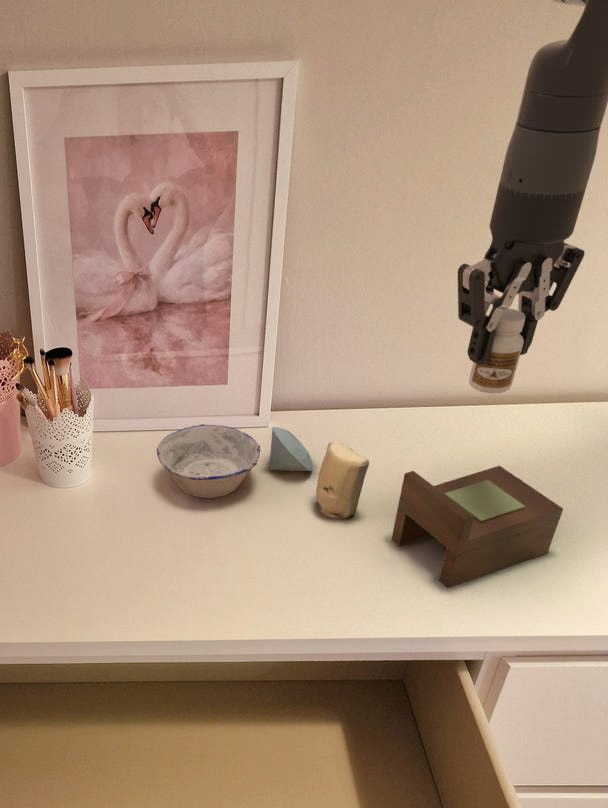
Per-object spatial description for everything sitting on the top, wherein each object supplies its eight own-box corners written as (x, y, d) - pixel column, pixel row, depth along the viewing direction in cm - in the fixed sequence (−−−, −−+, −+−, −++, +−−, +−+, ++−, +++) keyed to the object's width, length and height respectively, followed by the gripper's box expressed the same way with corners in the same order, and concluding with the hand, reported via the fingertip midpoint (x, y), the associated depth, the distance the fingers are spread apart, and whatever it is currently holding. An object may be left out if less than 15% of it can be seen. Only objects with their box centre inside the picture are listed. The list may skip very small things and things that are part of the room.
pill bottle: (468, 393, 92) (486, 321, 87) (467, 374, 96) (484, 304, 90) (512, 396, 92) (532, 324, 86) (509, 378, 95) (529, 307, 89)
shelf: (487, 508, 105) (506, 442, 99) (547, 553, 98) (572, 484, 92) (391, 539, 101) (404, 473, 95) (447, 588, 94) (465, 519, 88)
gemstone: (254, 463, 109) (284, 435, 107) (245, 439, 115) (274, 412, 113) (294, 500, 112) (324, 474, 110) (283, 475, 118) (311, 450, 116)
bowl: (228, 446, 118) (230, 414, 115) (276, 493, 109) (279, 459, 106) (141, 469, 115) (140, 436, 112) (184, 519, 106) (184, 485, 103)
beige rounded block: (365, 502, 107) (374, 444, 102) (357, 525, 104) (366, 467, 98) (318, 494, 109) (326, 437, 103) (309, 517, 105) (316, 459, 100)
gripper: (509, 201, 75) (465, 386, 87) (635, 177, 79) (576, 357, 91) (453, 180, 81) (418, 357, 92) (573, 159, 84) (525, 331, 96)
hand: (497, 356), depth 91 cm, fingers closed on pill bottle, 4 cm apart
